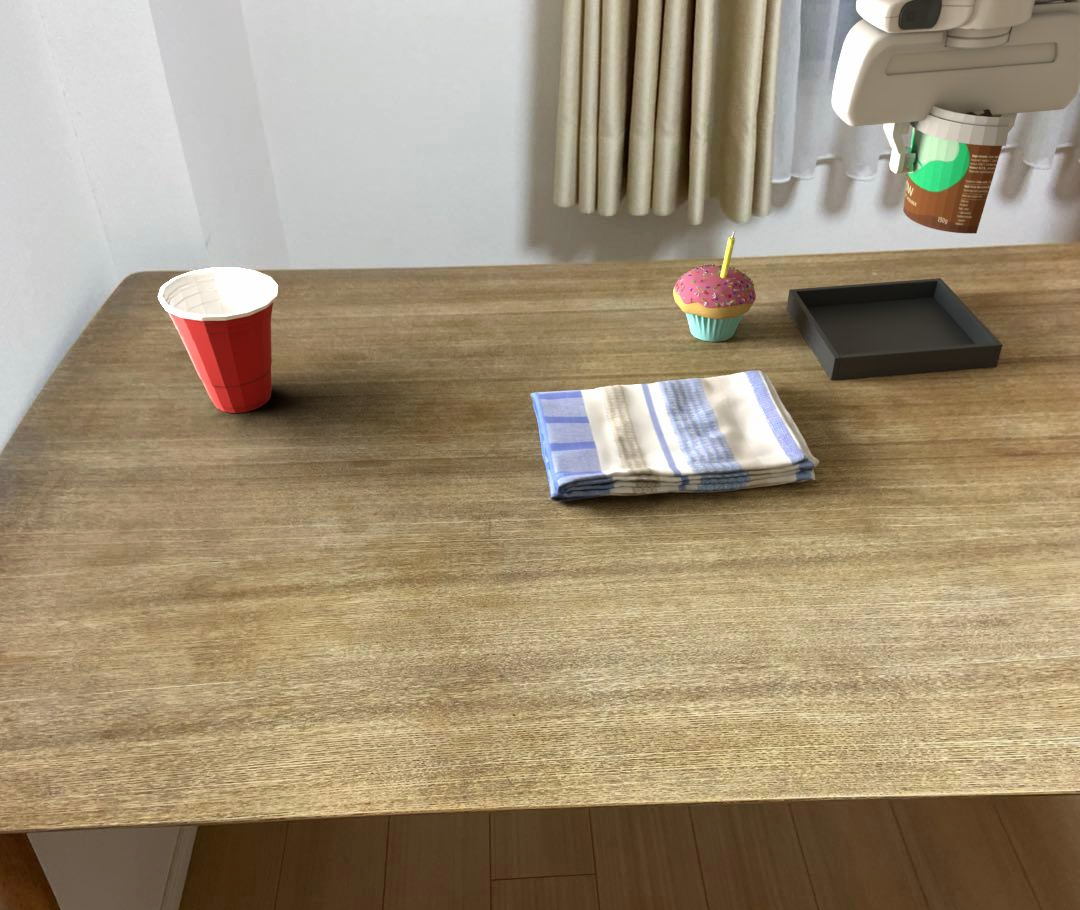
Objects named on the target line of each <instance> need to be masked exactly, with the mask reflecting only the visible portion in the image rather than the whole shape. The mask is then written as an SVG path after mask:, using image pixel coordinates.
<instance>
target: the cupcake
mask: <svg viewBox="0 0 1080 910" xmlns="http://www.w3.org/2000/svg"><path fill="white" fill-rule="evenodd" d="M735 234H736V231H735V230H734V231H732V235H731V236H729V237H728V238H727V243H726V248H725V253H724V257H723V262H722V265H721V264H718V265H715V263H712V264H702V265H698V266H696V267H693V268H692V269H688V271H686V273H684V274H681V277H680V278H679V279H678V280H677V281H676V283H675V285H674V287H673V290H672V291H673V292H672V295H673V299H674V302H675V303H676V305H677V306H678V307H679V309H680V310H681V311H682V312H683V313H684V314H685V316H686V319H687V323H688V326H689V331H690V334H691V335H692V336H693V337H694V338H695V339H698V340H701V341H704V342H709V343H710V342H711V343H718V342H724V341H728V340H729V339H731V338H732V337H733V336H734V335H735V333H736V331H737V329H738V326H739V324H740V322H741V321H742V319H743V317H744V316H745V314H747V313H748V312H749V311H750V310H751V308H752V306H753V305H754V303H755V301H756V299H757V294H756V290H755V283H753V280H752V279H751V278H749V276H748V275H747V274H746V273H743V272H742V271H740V270H739V269H736V268H735V267H730V265H731V264H730V263H731V259H732V255H733V250H734V245H735V241H736V238H735Z"/></svg>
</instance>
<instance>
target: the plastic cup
mask: <svg viewBox="0 0 1080 910" xmlns="http://www.w3.org/2000/svg"><path fill="white" fill-rule="evenodd" d="M278 291H279V284H277V282H276V280H274V279H273V277H271V276H270V275H267V274H265V273H262V272H260V271H258V270H254V269H249V268H243V267H242V268H241V267H236V266H235V267H231V266H230V267H229V266H228V267H226V266H225V267H208V268H203V269H197V270H192V271H189V272H188V271H187V272H186V273H183V274H180V275H177V276H175V277H172V278H171V279H170V280H169V281H167V282H165V283H164V284H163V285H161V287H160V288H159V290H158V295H157V298H158V301H159V302H160V304H161V306H162V307H163V308H164V310H165V311H166V312H167V313H168V315H169V318H170V319H171V320H172V323H173V325H174V328H175V329H176V330H177V332H178V334H179V337H180V339H181V341H182V343H183V345H184V347H185V349H186V352H187V354H188V356H189V358H190V361H191V362H192V364H193V367H194V369H195V371H196V373H197V375H198V377H199V379H200V380H201V381H202V384H203V386H204V388H205V390H206V392H207V395H208V396H209V398H210V400H211V402H212V403H213V405H214V406H215V407H216V409H217V410H220V411H222V412H224V413H233V414H240V413H247V412H251V411H254V410H258V409H259V408H261V407H262V406H264V405H265V404H267V403H268V401H270V399H271V397H272V396H271V395H272V389H273V381H272V379H273V378H272V363H273V360H272V359H273V356H272V354H273V352H272V315H273V307H274V303H275V301H276V300H277V297H278Z"/></svg>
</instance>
